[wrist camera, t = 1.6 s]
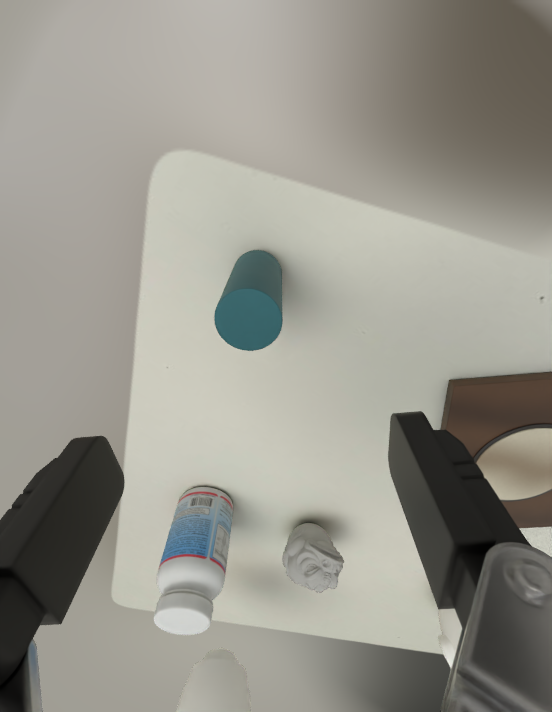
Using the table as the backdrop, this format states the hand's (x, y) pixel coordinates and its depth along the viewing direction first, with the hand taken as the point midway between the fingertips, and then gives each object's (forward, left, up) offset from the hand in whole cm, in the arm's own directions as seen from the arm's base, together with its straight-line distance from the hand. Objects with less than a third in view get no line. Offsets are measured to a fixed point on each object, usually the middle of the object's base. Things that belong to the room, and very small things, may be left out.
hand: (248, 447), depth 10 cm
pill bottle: (+25, -10, -18) cm, 32 cm away
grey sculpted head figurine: (+30, +1, -18) cm, 35 cm away
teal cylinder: (0, -1, -18) cm, 18 cm away
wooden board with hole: (+21, +22, -18) cm, 35 cm away
